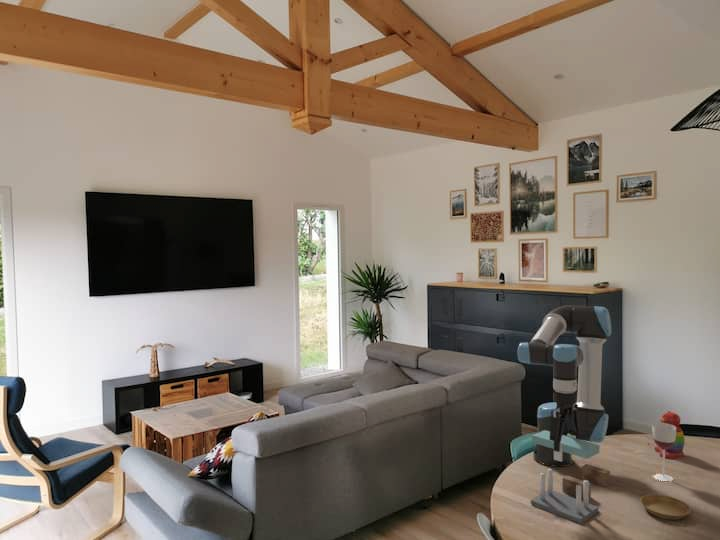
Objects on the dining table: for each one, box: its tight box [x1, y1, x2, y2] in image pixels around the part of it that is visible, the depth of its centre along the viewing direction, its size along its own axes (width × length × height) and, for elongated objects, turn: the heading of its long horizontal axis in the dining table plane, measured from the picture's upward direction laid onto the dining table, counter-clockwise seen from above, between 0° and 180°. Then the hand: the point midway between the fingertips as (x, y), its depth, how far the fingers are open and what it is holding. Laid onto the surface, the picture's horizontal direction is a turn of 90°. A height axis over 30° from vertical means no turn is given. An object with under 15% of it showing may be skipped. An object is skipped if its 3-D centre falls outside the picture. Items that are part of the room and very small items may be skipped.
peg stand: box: [530, 468, 599, 525], centre depth 185 cm, size 18×12×10 cm, turn 41°
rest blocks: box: [562, 463, 611, 499], centre depth 200 cm, size 9×18×5 cm, turn 131°
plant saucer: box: [639, 494, 692, 521], centre depth 181 cm, size 15×15×3 cm
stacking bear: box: [654, 410, 685, 460], centre depth 229 cm, size 11×10×18 cm
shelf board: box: [531, 430, 600, 460], centre depth 184 cm, size 20×8×2 cm, turn 40°
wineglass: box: [651, 422, 676, 483], centre depth 206 cm, size 8×9×20 cm
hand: (564, 456), depth 185 cm, fingers closed on shelf board, 8 cm apart
